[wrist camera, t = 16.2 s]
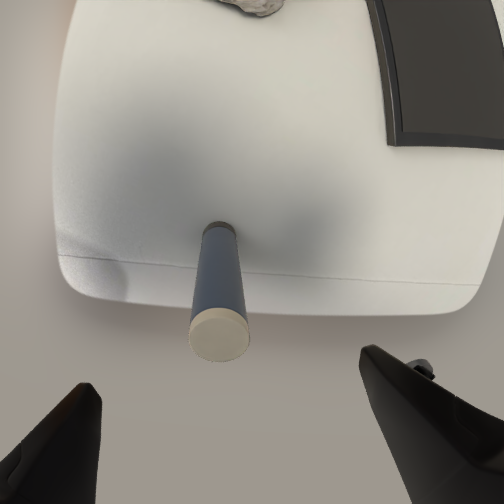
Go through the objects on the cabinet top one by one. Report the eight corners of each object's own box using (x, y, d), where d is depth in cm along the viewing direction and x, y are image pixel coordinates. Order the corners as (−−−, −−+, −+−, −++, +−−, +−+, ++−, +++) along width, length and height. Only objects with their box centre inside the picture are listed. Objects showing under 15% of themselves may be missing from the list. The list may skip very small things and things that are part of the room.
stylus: (243, 234, 19) (262, 337, 10) (221, 258, 20) (224, 370, 11) (216, 214, 18) (213, 306, 9) (195, 239, 19) (176, 344, 10)
